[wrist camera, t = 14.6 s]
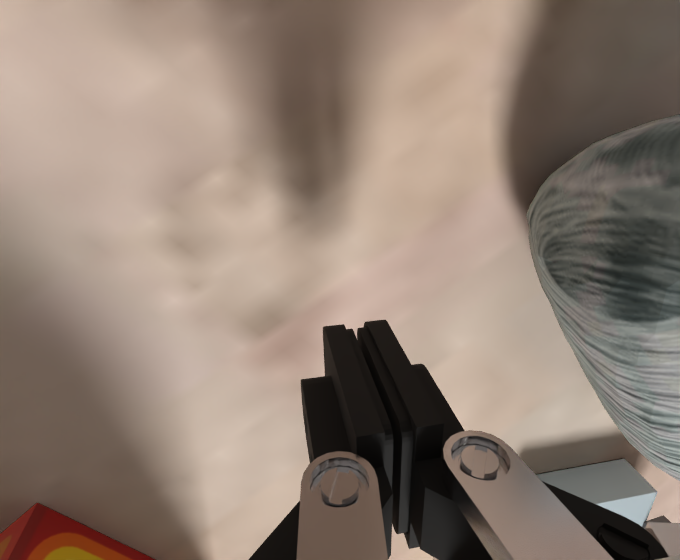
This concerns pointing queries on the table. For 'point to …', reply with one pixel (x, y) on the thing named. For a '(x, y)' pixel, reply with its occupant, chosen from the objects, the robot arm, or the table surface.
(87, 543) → the baking soda box
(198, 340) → the table surface
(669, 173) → the gray yarn ball
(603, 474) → the pale blue block pair
